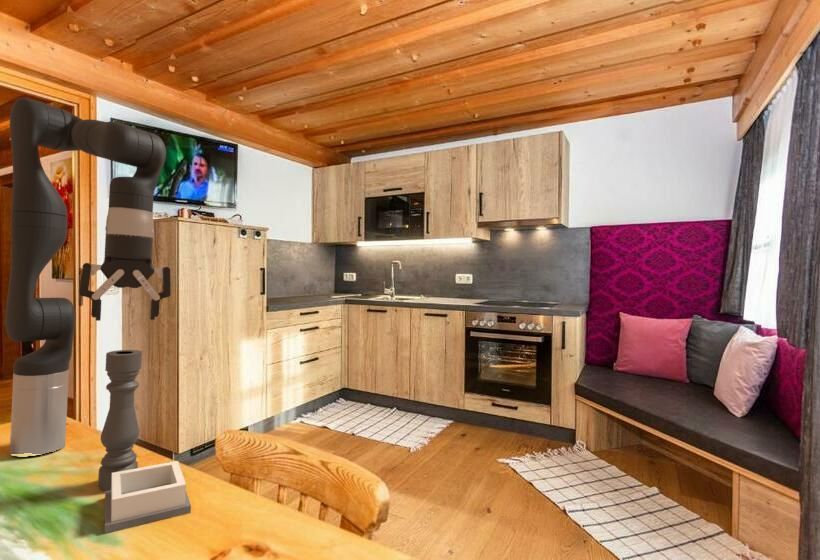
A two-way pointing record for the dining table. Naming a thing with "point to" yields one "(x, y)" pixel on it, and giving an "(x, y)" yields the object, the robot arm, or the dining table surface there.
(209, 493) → the dining table surface
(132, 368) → the candle holder
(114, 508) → the socket dock
